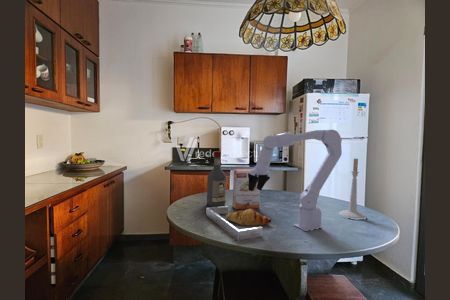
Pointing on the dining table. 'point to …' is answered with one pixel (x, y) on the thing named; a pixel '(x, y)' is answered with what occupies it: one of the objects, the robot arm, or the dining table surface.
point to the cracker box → (244, 191)
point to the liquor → (216, 184)
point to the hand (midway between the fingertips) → (254, 189)
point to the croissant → (248, 218)
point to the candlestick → (353, 196)
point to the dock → (232, 230)
